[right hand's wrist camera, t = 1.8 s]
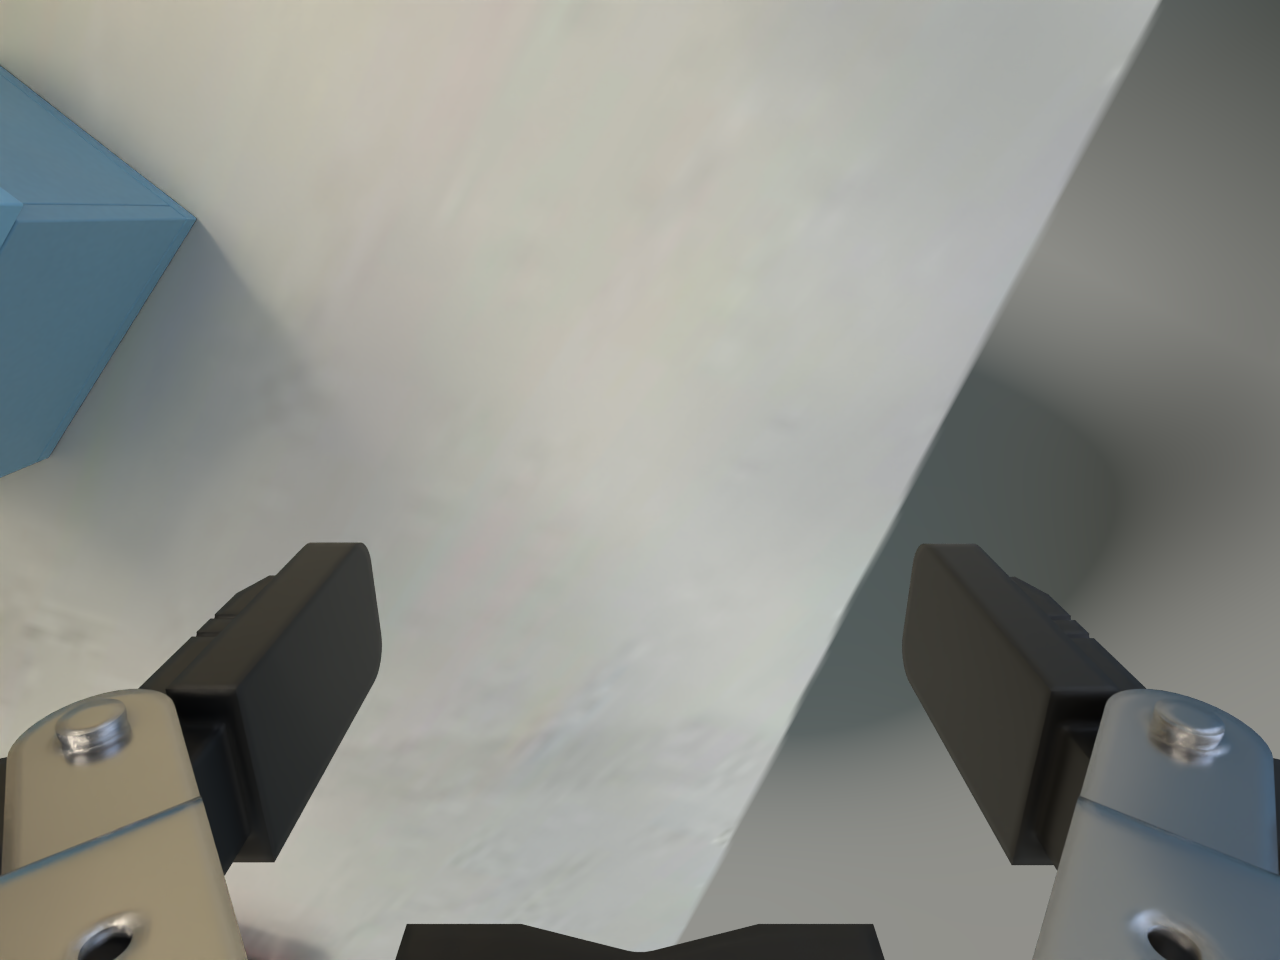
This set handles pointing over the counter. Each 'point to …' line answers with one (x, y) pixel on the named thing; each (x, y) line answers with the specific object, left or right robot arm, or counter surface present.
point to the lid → (7, 213)
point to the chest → (68, 267)
